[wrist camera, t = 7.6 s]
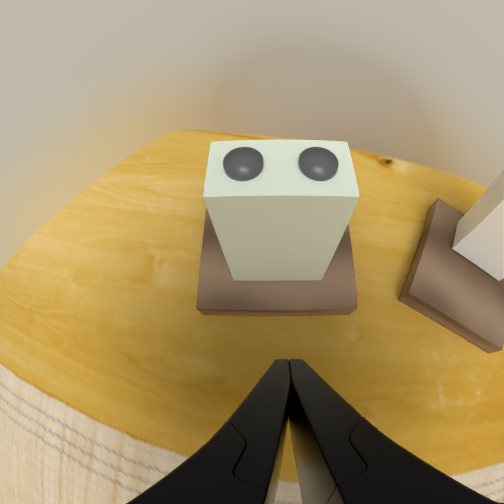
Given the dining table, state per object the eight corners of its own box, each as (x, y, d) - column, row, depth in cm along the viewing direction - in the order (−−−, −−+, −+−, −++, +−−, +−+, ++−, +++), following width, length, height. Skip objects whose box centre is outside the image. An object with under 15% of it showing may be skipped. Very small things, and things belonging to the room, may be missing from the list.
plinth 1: (350, 314, 21) (357, 308, 19) (203, 314, 21) (196, 308, 20) (338, 200, 25) (342, 187, 23) (213, 201, 25) (209, 188, 24)
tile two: (321, 280, 20) (361, 192, 10) (233, 280, 20) (201, 192, 11) (318, 240, 21) (348, 137, 11) (235, 241, 21) (210, 137, 12)
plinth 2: (488, 353, 18) (501, 350, 16) (398, 300, 21) (408, 292, 19) (506, 262, 21) (517, 254, 19) (429, 209, 24) (437, 197, 22)
